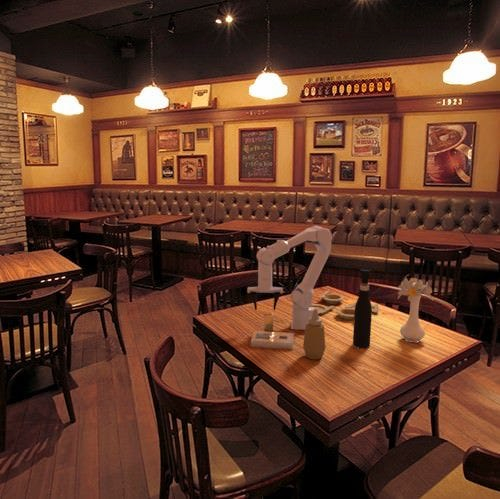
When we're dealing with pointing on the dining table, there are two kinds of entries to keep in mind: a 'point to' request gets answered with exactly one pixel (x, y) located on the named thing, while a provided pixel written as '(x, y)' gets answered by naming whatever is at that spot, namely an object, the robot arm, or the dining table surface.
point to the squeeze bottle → (314, 337)
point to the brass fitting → (268, 321)
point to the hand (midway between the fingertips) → (265, 309)
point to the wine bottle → (363, 313)
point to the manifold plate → (272, 340)
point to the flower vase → (413, 308)
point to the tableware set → (344, 312)
